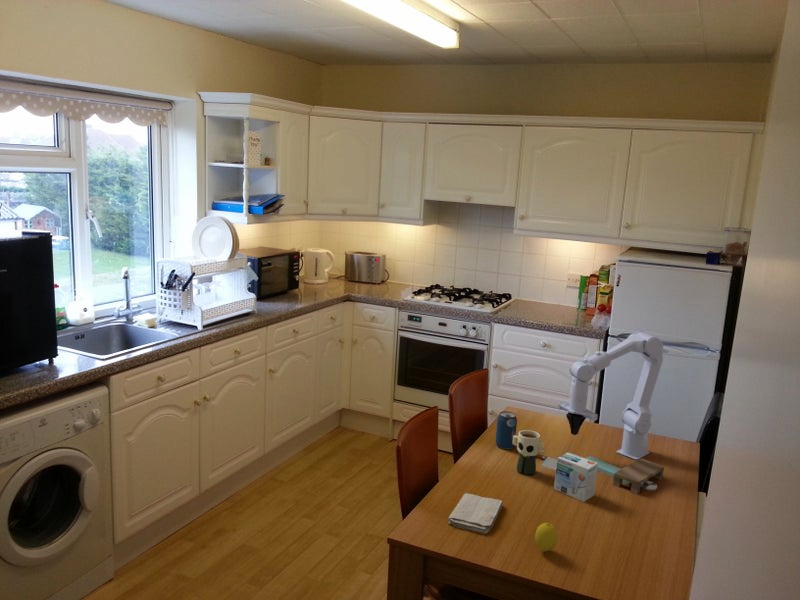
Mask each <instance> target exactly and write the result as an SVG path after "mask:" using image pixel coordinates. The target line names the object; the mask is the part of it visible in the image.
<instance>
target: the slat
mask: <svg viewBox="0 0 800 600" xmlns="http://www.w3.org/2000/svg"><path fill="white" fill-rule="evenodd" d="M585 459H588V460H591V461H593V462H596V463H598V468H597V472H600V473H602V474H605V475H607V476H609V477H612V478H614V473H615V472H617V471H619V470H621V469H622V468H620V467H618V466H617V465H616V466H615V465H613V464H611V463H608V462H605V461H603V460H602V459H598V458H596V457H593V456H590V455H589V456H586V457H585ZM622 482H623V483H626V484H632V483H631V482H628V481H626V480H623V481H622Z"/></svg>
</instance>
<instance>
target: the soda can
mask: <svg viewBox="0 0 800 600" xmlns="http://www.w3.org/2000/svg"><path fill="white" fill-rule="evenodd" d="M496 422H497V423H496V430H495V431H496V432H495V445H496V446H497V447H498V448H499V447H500V448H499V449H502V450H512V449H513V448H514V446H515V445H513V436H517V425H518V424H517V423H518V419H517V414H516V413H514V412H512V411H505V410H504V411H501V412H499V414H498V416H497V419H496Z"/></svg>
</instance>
